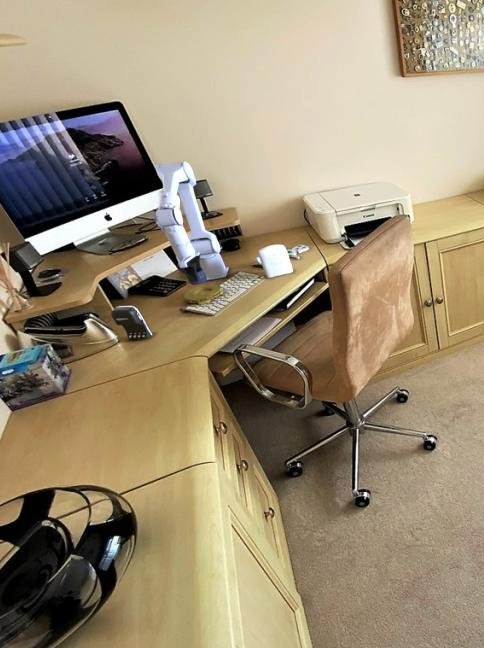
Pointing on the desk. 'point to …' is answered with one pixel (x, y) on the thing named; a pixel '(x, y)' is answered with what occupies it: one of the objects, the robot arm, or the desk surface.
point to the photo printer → (275, 260)
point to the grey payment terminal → (132, 322)
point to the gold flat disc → (203, 294)
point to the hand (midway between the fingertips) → (196, 277)
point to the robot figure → (291, 252)
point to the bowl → (199, 277)
